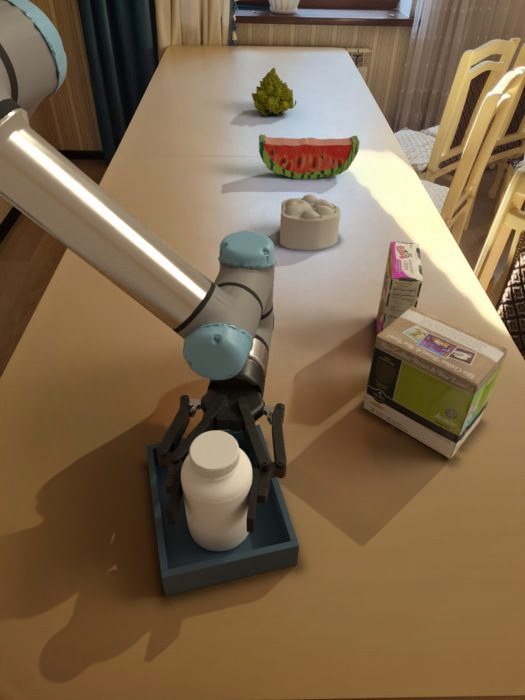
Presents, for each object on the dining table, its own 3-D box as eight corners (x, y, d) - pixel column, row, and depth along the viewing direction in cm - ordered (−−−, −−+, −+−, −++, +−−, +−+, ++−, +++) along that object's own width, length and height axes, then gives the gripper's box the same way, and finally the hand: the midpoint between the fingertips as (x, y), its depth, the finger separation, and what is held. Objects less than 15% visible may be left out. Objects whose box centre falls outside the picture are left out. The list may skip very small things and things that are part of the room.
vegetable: (272, 89, 194) (281, 56, 180) (296, 122, 192) (306, 92, 178) (237, 103, 190) (244, 71, 176) (261, 138, 188) (270, 108, 173)
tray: (150, 465, 75) (145, 445, 72) (259, 444, 78) (259, 424, 75) (165, 596, 61) (161, 577, 58) (297, 564, 64) (299, 545, 61)
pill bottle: (178, 545, 65) (165, 470, 55) (200, 490, 71) (192, 413, 61) (242, 561, 63) (241, 487, 53) (259, 503, 69) (260, 427, 59)
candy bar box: (374, 317, 101) (389, 239, 90) (402, 320, 100) (420, 242, 89) (374, 357, 92) (391, 276, 81) (404, 361, 92) (425, 280, 81)
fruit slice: (258, 179, 146) (259, 142, 139) (258, 169, 150) (258, 133, 144) (355, 180, 146) (360, 142, 140) (352, 170, 151) (356, 134, 144)
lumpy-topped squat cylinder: (280, 225, 126) (282, 190, 121) (336, 228, 126) (340, 193, 120) (279, 248, 119) (280, 212, 113) (338, 251, 118) (342, 215, 112)
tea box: (480, 421, 82) (511, 348, 72) (449, 462, 76) (478, 387, 66) (394, 375, 89) (412, 302, 79) (360, 408, 83) (374, 334, 74)
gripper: (311, 400, 77) (304, 549, 60) (168, 387, 78) (120, 530, 61) (316, 361, 72) (309, 512, 55) (162, 348, 73) (109, 492, 56)
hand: (210, 521), depth 58 cm, fingers closed on pill bottle, 8 cm apart
